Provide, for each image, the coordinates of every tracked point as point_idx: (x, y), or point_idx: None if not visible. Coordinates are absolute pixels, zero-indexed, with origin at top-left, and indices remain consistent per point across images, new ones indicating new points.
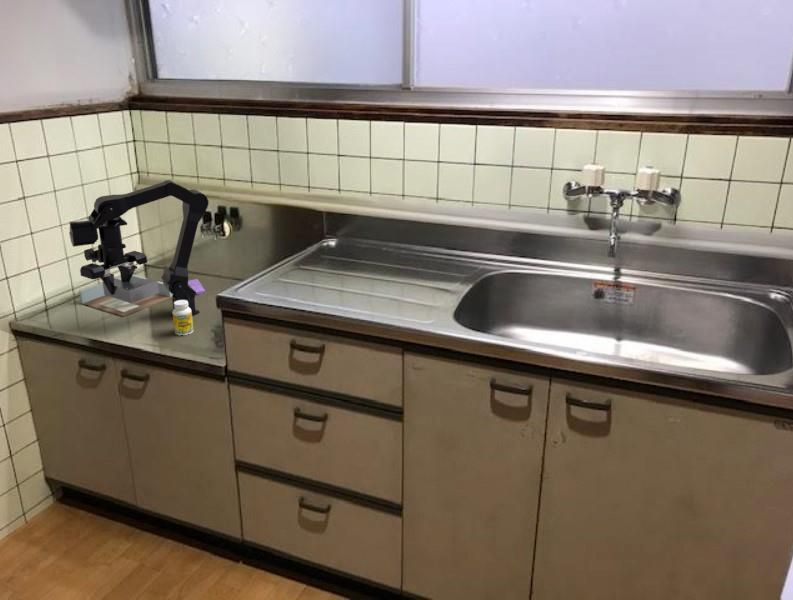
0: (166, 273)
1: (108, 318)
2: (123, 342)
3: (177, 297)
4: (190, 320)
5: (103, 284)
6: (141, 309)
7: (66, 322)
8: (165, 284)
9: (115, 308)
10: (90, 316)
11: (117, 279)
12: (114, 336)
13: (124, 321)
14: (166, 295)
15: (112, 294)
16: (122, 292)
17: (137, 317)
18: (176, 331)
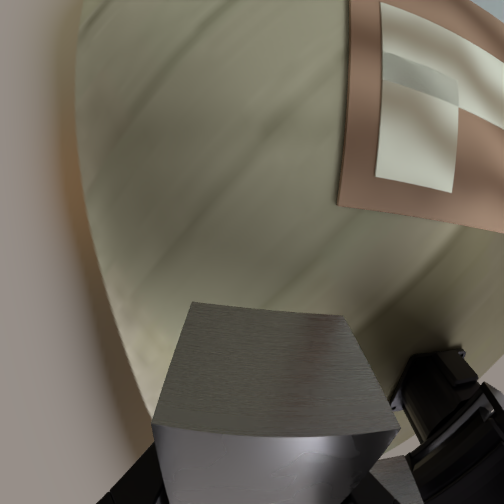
0: (482, 498)
1: (290, 146)
2: (145, 382)
3: (429, 440)
4: None
5: (161, 403)
6: (432, 219)
7: (153, 19)
8: (459, 458)
9: (389, 104)
10: (263, 47)
11: (353, 480)
12: (154, 328)
13: (297, 250)
14: None
15: None
16: None
17: (359, 267)
18: None
